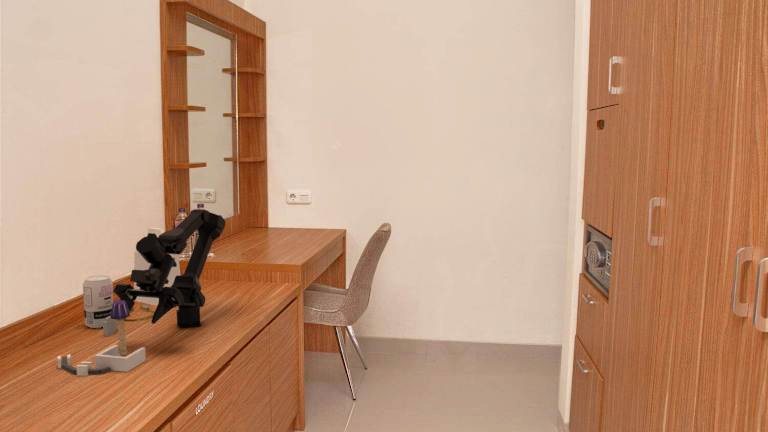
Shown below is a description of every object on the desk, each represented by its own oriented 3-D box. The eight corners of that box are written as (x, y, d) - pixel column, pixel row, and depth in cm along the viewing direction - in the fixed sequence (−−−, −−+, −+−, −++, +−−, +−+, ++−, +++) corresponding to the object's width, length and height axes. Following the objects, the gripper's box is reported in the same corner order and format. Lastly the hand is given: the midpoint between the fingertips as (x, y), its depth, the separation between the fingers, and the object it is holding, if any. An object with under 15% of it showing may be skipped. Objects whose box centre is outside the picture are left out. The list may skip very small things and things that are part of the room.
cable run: (65, 359, 158) (65, 355, 158) (111, 371, 151) (111, 367, 151) (45, 366, 153) (45, 362, 153) (92, 379, 146) (91, 375, 146)
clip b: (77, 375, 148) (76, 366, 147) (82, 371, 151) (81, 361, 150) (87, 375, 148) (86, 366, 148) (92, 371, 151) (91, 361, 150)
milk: (182, 298, 219) (180, 228, 215) (156, 305, 209) (153, 232, 205) (160, 293, 225) (157, 225, 221) (133, 300, 215) (130, 229, 212)
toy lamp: (114, 368, 153) (111, 304, 151) (111, 362, 157) (108, 300, 154) (134, 364, 156) (131, 302, 153) (130, 358, 159) (128, 297, 157)
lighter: (108, 336, 177) (107, 310, 176) (103, 336, 177) (101, 309, 176) (122, 328, 184) (121, 303, 183) (117, 328, 184) (116, 303, 183)
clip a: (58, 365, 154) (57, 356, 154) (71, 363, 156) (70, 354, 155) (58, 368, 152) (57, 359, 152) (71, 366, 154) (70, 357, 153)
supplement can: (91, 321, 191) (88, 275, 189) (118, 320, 191) (116, 275, 190) (80, 329, 183) (78, 281, 181) (108, 329, 183) (106, 281, 181)
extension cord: (165, 308, 207) (165, 303, 207) (147, 323, 191) (147, 317, 191) (130, 308, 207) (130, 302, 207) (109, 322, 191) (109, 316, 191)
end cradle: (115, 357, 160) (114, 344, 160) (145, 360, 158) (145, 347, 158) (95, 368, 152) (94, 355, 152) (127, 371, 151) (126, 358, 150)
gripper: (115, 255, 166) (90, 305, 157) (176, 258, 162) (155, 310, 153) (133, 276, 175) (111, 324, 166) (192, 279, 171) (173, 329, 162)
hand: (137, 321), depth 162 cm, fingers open, 9 cm apart
